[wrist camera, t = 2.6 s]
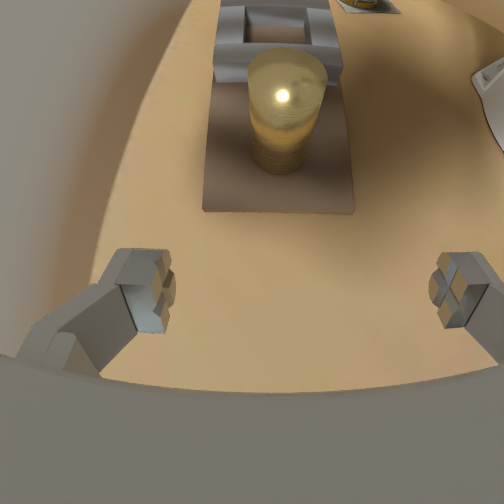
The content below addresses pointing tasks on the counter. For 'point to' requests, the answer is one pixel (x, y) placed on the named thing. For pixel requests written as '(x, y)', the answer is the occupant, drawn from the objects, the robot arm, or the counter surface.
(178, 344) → the counter surface
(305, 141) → the translucent yellow cylinder
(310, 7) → the jig
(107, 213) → the counter surface
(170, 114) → the counter surface
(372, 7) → the condiment
